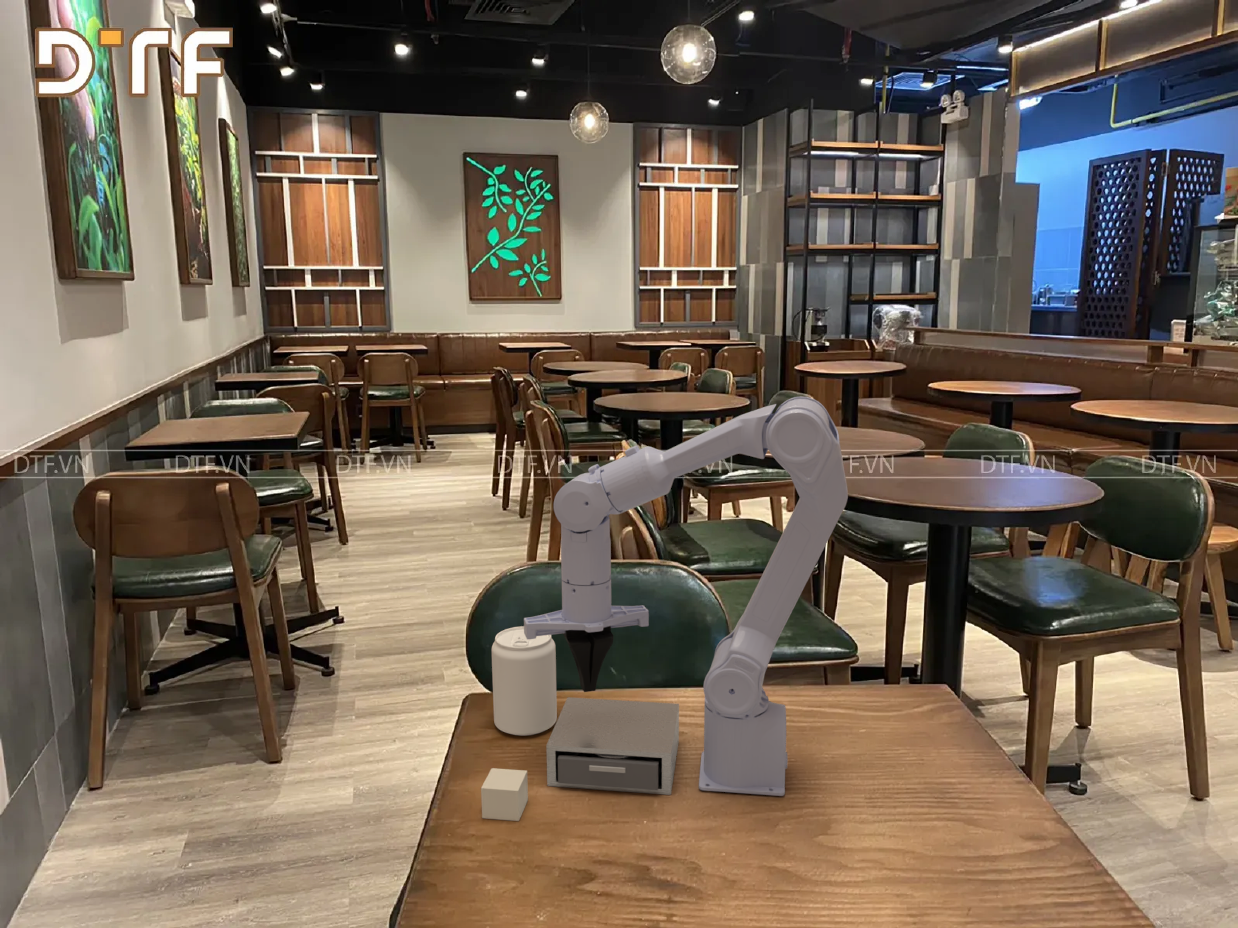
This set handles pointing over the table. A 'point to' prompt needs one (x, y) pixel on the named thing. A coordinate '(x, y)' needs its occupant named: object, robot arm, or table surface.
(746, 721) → the robot arm
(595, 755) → the disc
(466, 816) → the table surface
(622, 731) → the box
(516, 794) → the riser block
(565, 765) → the tray
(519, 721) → the beverage can
